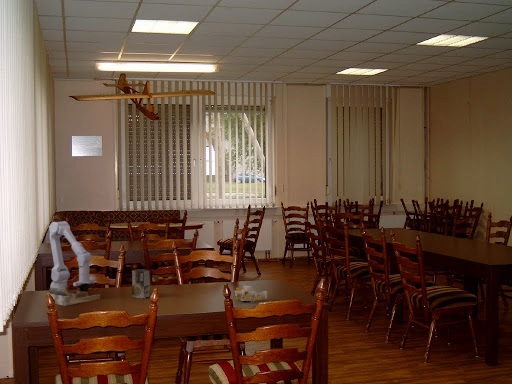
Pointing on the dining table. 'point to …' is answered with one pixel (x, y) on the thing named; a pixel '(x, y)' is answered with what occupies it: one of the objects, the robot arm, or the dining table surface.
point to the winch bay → (68, 297)
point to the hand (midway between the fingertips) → (84, 297)
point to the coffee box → (140, 283)
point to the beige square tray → (77, 294)
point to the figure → (249, 294)
